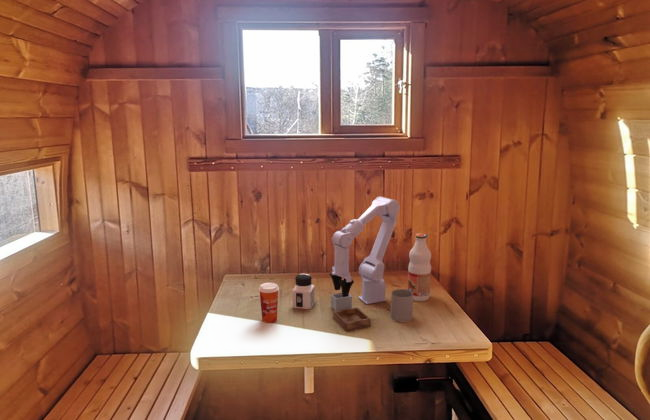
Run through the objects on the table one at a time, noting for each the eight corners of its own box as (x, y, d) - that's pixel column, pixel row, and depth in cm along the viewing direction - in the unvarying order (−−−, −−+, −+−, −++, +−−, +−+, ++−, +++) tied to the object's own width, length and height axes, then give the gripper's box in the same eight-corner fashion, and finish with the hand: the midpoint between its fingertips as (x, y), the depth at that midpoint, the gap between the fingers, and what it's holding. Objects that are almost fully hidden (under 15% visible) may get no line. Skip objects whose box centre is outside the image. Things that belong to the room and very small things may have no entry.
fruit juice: (427, 303, 208) (430, 238, 202) (405, 300, 211) (407, 236, 205) (430, 294, 216) (433, 232, 210) (409, 292, 219) (411, 230, 213)
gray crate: (346, 304, 207) (346, 291, 205) (351, 309, 202) (351, 296, 201) (331, 307, 204) (331, 294, 203) (336, 311, 199) (336, 299, 198)
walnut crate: (356, 314, 197) (357, 307, 196) (370, 326, 187) (370, 318, 186) (333, 318, 193) (333, 311, 192) (345, 330, 183) (345, 323, 182)
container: (310, 309, 202) (310, 279, 199) (292, 308, 203) (291, 277, 200) (314, 302, 209) (314, 272, 206) (297, 300, 211) (296, 271, 208)
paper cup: (263, 325, 187) (262, 290, 184) (256, 318, 194) (255, 284, 191) (283, 321, 191) (282, 287, 188) (275, 314, 198) (274, 280, 194)
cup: (414, 314, 197) (414, 290, 195) (410, 323, 189) (411, 298, 187) (392, 311, 200) (393, 288, 197) (388, 320, 192) (389, 295, 190)
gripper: (325, 257, 203) (325, 288, 206) (340, 268, 190) (339, 301, 193) (340, 255, 206) (340, 285, 209) (356, 265, 193) (356, 298, 196)
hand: (341, 293), depth 201 cm, fingers open, 7 cm apart
